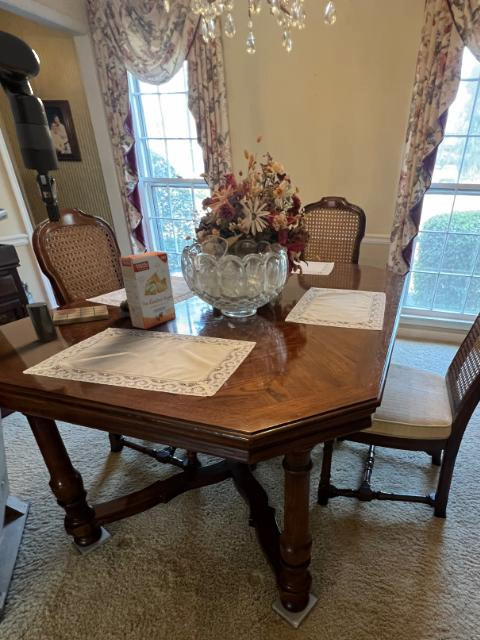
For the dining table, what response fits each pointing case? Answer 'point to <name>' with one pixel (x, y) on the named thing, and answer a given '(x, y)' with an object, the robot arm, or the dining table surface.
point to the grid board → (80, 315)
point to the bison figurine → (124, 309)
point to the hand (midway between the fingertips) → (55, 220)
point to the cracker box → (148, 288)
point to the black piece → (42, 321)
